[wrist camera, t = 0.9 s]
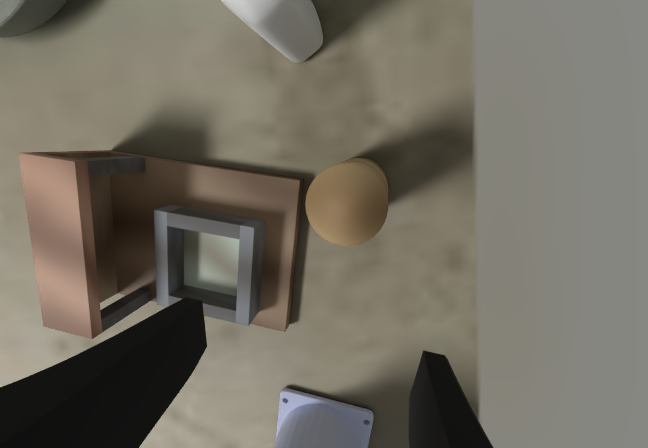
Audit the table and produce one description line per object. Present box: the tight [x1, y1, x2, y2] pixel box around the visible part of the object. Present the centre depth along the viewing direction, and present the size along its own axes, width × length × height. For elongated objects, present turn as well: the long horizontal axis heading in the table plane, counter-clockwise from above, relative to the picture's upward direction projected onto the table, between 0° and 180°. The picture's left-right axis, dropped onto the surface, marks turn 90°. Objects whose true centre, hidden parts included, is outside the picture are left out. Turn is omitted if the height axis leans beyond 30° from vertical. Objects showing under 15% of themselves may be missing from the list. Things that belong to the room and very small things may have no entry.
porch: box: [18, 150, 303, 339], centre depth 22 cm, size 12×16×6 cm
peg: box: [305, 158, 389, 246], centre depth 18 cm, size 4×4×7 cm
